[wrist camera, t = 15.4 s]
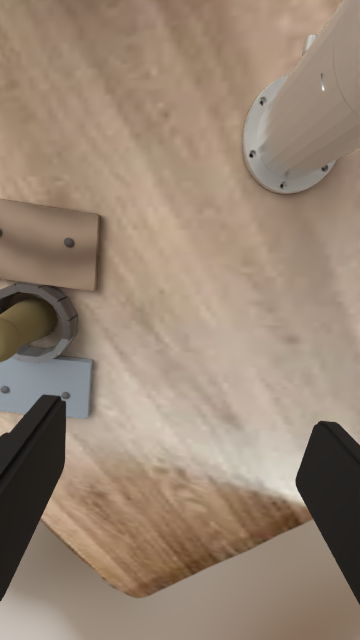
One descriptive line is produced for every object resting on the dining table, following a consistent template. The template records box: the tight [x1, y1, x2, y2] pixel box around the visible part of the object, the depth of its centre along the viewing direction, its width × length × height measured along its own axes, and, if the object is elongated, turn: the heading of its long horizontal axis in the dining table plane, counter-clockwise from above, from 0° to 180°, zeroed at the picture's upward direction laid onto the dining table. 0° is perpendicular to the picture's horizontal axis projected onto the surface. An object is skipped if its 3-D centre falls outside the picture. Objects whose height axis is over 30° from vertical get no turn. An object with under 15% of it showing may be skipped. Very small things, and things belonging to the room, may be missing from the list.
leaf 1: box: [0, 199, 101, 340], centre depth 33 cm, size 17×16×3 cm
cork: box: [0, 297, 57, 362], centre depth 31 cm, size 6×6×11 cm
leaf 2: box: [0, 334, 93, 419], centre depth 37 cm, size 14×16×3 cm
